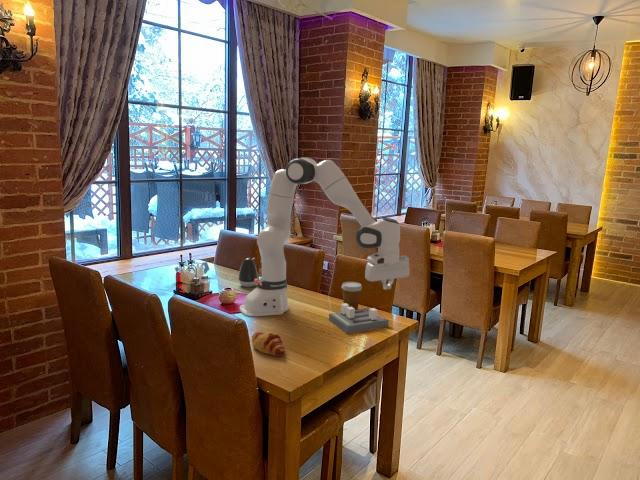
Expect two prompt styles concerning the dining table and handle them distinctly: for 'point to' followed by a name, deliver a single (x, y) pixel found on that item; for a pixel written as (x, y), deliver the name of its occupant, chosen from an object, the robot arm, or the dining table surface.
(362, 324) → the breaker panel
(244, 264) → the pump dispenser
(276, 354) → the croissant
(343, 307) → the breaker back
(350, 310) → the breaker middle
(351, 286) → the disposable coffee cup
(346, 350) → the dining table surface
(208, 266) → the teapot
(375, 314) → the breaker front
